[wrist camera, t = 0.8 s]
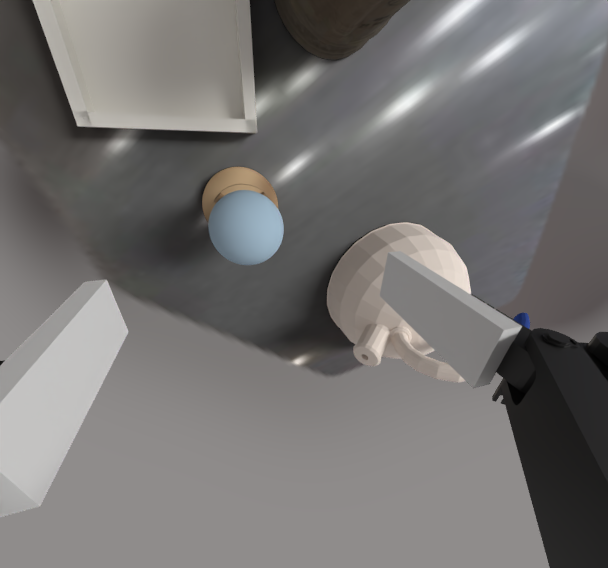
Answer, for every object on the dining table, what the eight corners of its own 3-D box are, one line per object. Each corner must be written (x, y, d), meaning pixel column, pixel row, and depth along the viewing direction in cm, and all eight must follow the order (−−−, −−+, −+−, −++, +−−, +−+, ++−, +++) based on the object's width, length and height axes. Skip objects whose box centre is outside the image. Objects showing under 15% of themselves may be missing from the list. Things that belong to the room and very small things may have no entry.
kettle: (315, 241, 33) (394, 329, 17) (452, 206, 36) (619, 255, 21) (330, 350, 43) (387, 462, 28) (434, 315, 46) (536, 400, 31)
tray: (-6, -156, 15) (-39, -199, 13) (240, -94, 18) (242, -121, 16) (90, 127, 21) (77, 126, 20) (254, 133, 25) (257, 132, 23)
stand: (186, 207, 26) (176, 225, 21) (235, 148, 25) (238, 150, 19) (245, 253, 31) (250, 278, 25) (290, 204, 29) (306, 219, 24)
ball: (204, 185, 21) (198, 198, 16) (275, 184, 22) (290, 196, 17) (215, 252, 24) (213, 281, 19) (277, 247, 25) (290, 273, 20)
